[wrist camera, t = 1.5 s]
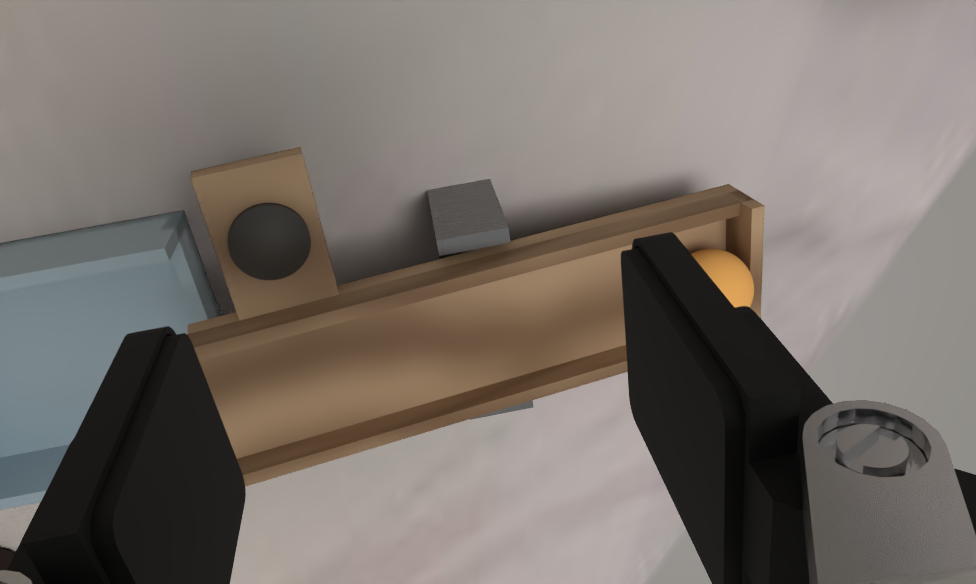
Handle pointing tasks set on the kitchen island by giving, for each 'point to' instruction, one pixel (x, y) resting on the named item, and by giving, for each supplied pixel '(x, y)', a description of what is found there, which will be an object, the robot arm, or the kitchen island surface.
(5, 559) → the bottle
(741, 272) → the ball
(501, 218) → the grey arch block
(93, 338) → the dish
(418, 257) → the kitchen island surface
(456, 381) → the lever
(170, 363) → the robot arm
